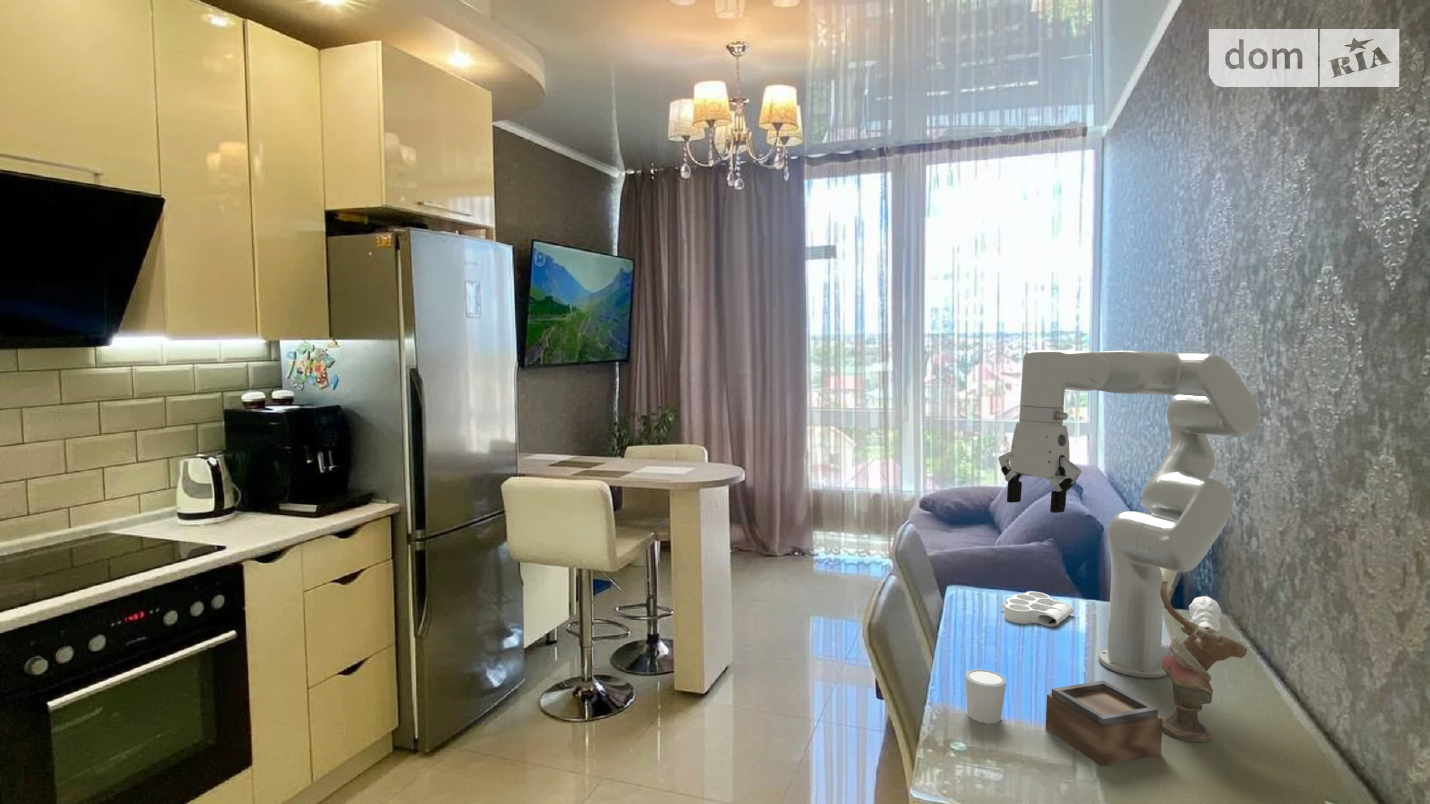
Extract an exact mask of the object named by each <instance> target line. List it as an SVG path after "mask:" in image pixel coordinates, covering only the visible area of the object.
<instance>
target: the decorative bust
mask: <svg viewBox="0 0 1430 804" xmlns="http://www.w3.org/2000/svg"><path fill="white" fill-rule="evenodd" d="M1168 584H1169V582H1168V581H1164V582H1162V584H1161V590H1160V595H1161V598H1162V601H1163V603H1164V605H1163V606H1164V608H1165V609H1166V611H1167V612H1168V614H1169V615H1170V616H1171V617H1173V618H1174V619H1175V621H1177V622H1179V624H1180V625H1182V626H1181V627H1180V629H1181V631H1182V633H1184V634H1186V635H1187V636H1188V637H1186V638H1185V639H1184V640H1183V642H1182V641H1181V640H1180V639H1179V638H1178V636H1174V637H1173V638H1172V639H1171V641H1170V643H1169V645H1170V649H1171V650H1172V653H1173V655H1166V656H1164V658H1163V659H1162V661H1161V667H1162V669H1163V670H1164V671H1165V672H1166V674H1167V675H1166V676H1168V677H1169V679H1170V681H1171V683H1172V698H1171V702H1172V703H1173V705H1174V706H1175V707H1176V708H1175V711H1174V713H1173V714H1172V715H1169V716H1165V717H1163V724H1162V732H1164V733H1166V734H1167V735H1169V736H1170V737H1173V738H1175V739H1178V740H1181V741H1184V742H1191V743H1206V742H1208V741H1209V740H1211V735H1210V732H1209V730H1208V728H1206V726H1205V725H1204V724H1202V723H1201V722H1200V721H1199V716H1198V713H1199V712H1201V711H1202V710H1203V706H1202V705H1206V704H1207V705H1208V704H1211V703H1212V699H1213V693H1214V691H1213V688H1212V685H1211V681H1212V675H1211V674H1210V673H1209V670H1210V668H1211V667H1212V666H1213V665H1214V664H1215V663H1216V662H1218V661H1220V662H1221V661H1225V660H1227V659H1229V658H1231V657H1232V658H1237V659H1238V658H1239V659H1242V658H1244V657H1245V656H1246V655H1247V654H1248V653H1247V651H1248V650H1247V647H1246V646H1245V644H1244V643H1242V642H1241V641H1239V640H1236V639H1234V638H1229V637H1228V636H1226V635H1223V634H1221V633H1220V632H1216V631H1215V630H1214V629H1212V628H1210V627H1203V626H1199V625H1197V624H1195V623H1193V622H1190V620H1189V619H1187V618H1185V617H1184V616H1183V613H1180V612H1177V610H1176V609H1175V608H1174V607H1173V605H1172V604H1171V597H1172V595H1173V593H1174V588H1172V587H1171V588H1169V589H1168Z"/></svg>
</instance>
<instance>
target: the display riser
mask: <svg viewBox="0 0 1430 804" xmlns="http://www.w3.org/2000/svg"><path fill="white" fill-rule="evenodd" d="M1045 708H1046V709H1045V710H1046V711H1045V730H1047V732H1050V733H1051V734H1052V735H1054V736H1056V737H1057V738H1059V739H1060V740H1061V741H1063V742H1064V743H1066V744H1068V745H1069V746H1071V747H1072V748H1074V749H1075V750H1077V751H1078V752H1079V753H1081V754H1083V755H1084V756H1086V757H1087V758H1089V759H1090V760H1091V761H1093V762H1095V763H1096V764H1098V765H1099V766H1102V767H1104V766H1106V765H1107V766H1108V765H1112V764H1118V763H1122V762H1127V761H1132V760H1136V759H1143V758H1147V757H1153V756H1158V755H1161V754H1162V741H1163V739H1162V738H1163V729H1162V724H1163V718H1164V717H1162V716H1161V715H1159V709H1158V708H1156V707H1154V706H1153V705H1151V704H1149V703H1147V702H1145V701H1143V700H1142V699H1139V698H1137V697H1136V696H1134V695H1132V694H1130V693H1127V692H1126V691H1125V690H1123V689H1121V688H1119V687H1117V686H1115V685H1113V684H1111V683H1109V682H1108V681H1105V680H1099V681H1098V680H1097V681H1093V682H1085V683H1080V684H1072V685H1067V686H1059V687H1053V688H1051V693H1048V694H1047V695H1046V707H1045Z"/></svg>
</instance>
